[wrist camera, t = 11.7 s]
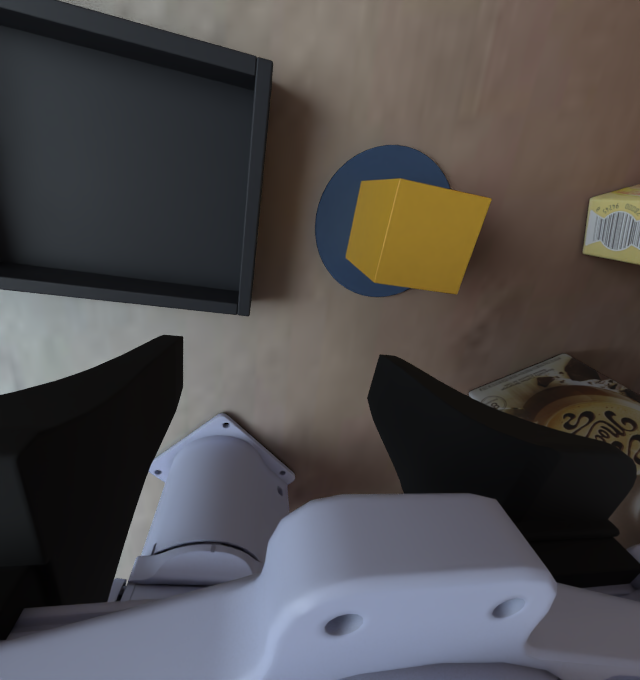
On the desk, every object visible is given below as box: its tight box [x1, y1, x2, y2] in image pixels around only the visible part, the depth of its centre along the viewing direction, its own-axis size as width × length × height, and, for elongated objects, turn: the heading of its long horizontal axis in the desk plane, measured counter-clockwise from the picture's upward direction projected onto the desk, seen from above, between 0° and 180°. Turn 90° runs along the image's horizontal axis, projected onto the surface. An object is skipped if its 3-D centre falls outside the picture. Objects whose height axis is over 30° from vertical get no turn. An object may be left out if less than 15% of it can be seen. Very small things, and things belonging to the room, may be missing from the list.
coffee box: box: [469, 354, 640, 549], centre depth 21 cm, size 9×6×16 cm
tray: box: [0, 0, 273, 316], centre depth 16 cm, size 15×12×3 cm
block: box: [346, 178, 492, 294], centre depth 17 cm, size 4×4×6 cm
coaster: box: [315, 145, 450, 297], centre depth 20 cm, size 9×9×1 cm
